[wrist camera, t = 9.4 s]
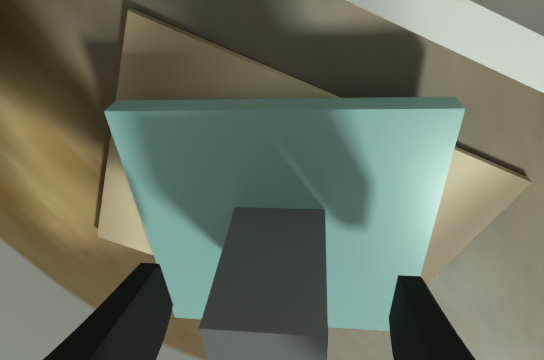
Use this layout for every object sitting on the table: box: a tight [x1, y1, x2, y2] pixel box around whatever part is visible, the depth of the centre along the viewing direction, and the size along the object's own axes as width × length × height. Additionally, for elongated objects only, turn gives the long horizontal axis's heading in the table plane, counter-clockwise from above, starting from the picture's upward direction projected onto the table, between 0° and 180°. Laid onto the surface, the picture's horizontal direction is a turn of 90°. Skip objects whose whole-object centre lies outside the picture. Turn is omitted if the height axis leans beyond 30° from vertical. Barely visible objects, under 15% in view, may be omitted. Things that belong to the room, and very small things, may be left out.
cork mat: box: [97, 9, 532, 331], centre depth 14 cm, size 14×10×1 cm
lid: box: [104, 97, 465, 360], centre depth 12 cm, size 10×10×6 cm
